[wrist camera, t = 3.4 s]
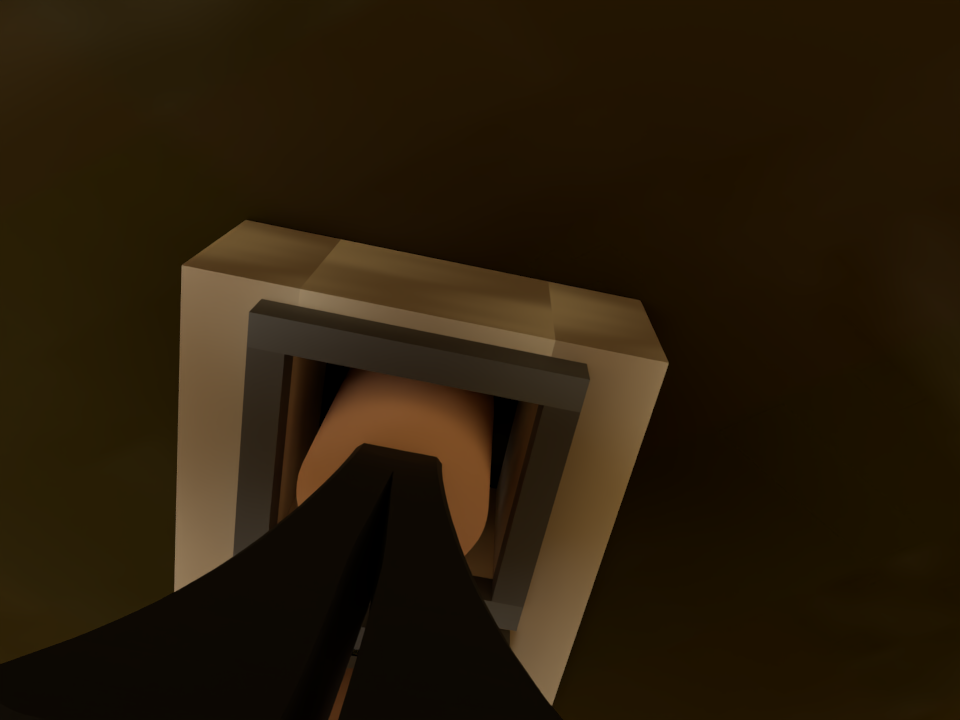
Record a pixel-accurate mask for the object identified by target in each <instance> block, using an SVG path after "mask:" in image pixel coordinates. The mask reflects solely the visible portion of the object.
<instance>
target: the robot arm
mask: <svg viewBox="0 0 960 720" xmlns="http://www.w3.org/2000/svg"><path fill="white" fill-rule="evenodd" d="M370 601H371V602H370ZM369 604H370V609H369V616H368V620H367V624H366V627H365V631H364V634H363V638H362V641H361V645H360V648H359V652H358V655H357V658H356V662H355V665H354V669H353V672H352V675H351V679H350V682H349V686H348V689H347V692H346V695H345V699H344V702H343V705H342V708H341V712H340V715H339V718H338V720H562V718H561V717H560V716H559V715H558V713H557V712H556V711H555V710H554V708H553V707H552V706H551V705H550V703H549V702H548V701H547V700H546V698H545V697H544V695H543V694H542V693H541V691H540V690H539V688H538V687H537V685H536V684H535V682H534V681H533V680H532V678H531V677H530V675H529V674H528V672H527V671H526V670H525V668H524V667H523V665H522V664H521V662H520V661H519V659H518V658H517V657H516V655H515V654H514V652H513V651H512V649H511V647H510V646H509V644H508V642H507V641H506V639H505V637H504V636H503V634H502V632H501V631H500V629H499V627H498V625H497V624H496V622H495V620H494V618H493V616H492V614H491V612H490V611H489V609H488V607H487V605H486V603H485V601H484V599H483V597H482V595H481V593H480V591H479V589H478V586H477V584H476V582H475V580H474V578H473V575H472V573H471V570H470V568H469V566H468V563H467V561H466V558H465V556H464V553H463V550H462V548H461V545H460V542H459V539H458V536H457V533H456V530H455V527H454V524H453V521H452V517H451V514H450V510H449V506H448V502H447V498H446V494H445V489H444V483H443V475H442V463H441V462H440V460H439V459H438V458H437V457H435V456H430V455H424V454H419V453H414V452H409V451H403V450H398V449H393V448H388V447H383V446H377V445H372V444H367V443H363V444H361V445H360V446H358V447H356V449H355V450H354V451H353V452H352V454H351V455H350V456H349V457H348V458H347V459H346V460H345V462H344V463H343V464H342V465H341V466H340V467H339V468H338V469H337V470H336V471H335V472H334V473H333V474H332V475H331V476H330V477H329V478H328V479H327V480H326V481H325V482H324V483H323V484H322V485H321V486H320V487H319V488H318V489H317V490H316V491H315V492H314V493H313V494H311V495H310V496H309V497H308V498H307V499H306V500H305V501H304V502H303V503H302V504H301V505H300V506H298V507H297V508H296V509H295V510H294V511H293V512H291V513H290V514H289V515H288V516H286V517H285V518H284V519H283V520H281V521H280V522H279V523H278V524H276V525H275V526H274V527H273V528H271V529H270V530H269V531H268V532H266V533H265V534H264V535H263V536H261V537H260V538H259V539H257V540H256V541H255V542H253V543H252V544H250V545H249V546H248V547H246V548H245V549H243V550H242V551H241V552H239V553H238V554H236V555H235V556H233V557H232V558H230V559H229V560H227V561H226V562H224V563H223V564H221V565H219V566H218V567H216V568H215V569H213V570H212V571H210V572H208V573H206V574H205V575H203V576H201V577H200V578H198V579H196V580H194V581H193V582H191V583H189V584H188V585H186V586H184V587H182V588H181V589H179V590H177V591H175V592H174V593H172V594H170V595H168V596H166V597H164V598H162V599H161V600H159V601H157V602H155V603H153V604H151V605H149V606H146V607H144V608H142V609H140V610H138V611H136V612H134V613H131V614H129V615H127V616H125V617H123V618H120V619H118V620H116V621H114V622H111V623H109V624H107V625H104V626H102V627H100V628H97V629H95V630H93V631H90V632H88V633H85V634H83V635H80V636H78V637H75V638H73V639H70V640H67V641H64V642H61V643H59V644H56V645H53V646H50V647H48V648H45V649H42V650H39V651H36V652H34V653H31V654H28V655H25V656H22V657H20V658H17V659H14V660H11V661H8V662H5V663H2V664H0V720H328V719H329V717H330V714H331V711H332V708H333V705H334V703H335V700H336V697H337V694H338V691H339V689H340V686H341V683H342V680H343V677H344V675H345V672H346V669H347V666H348V663H349V661H350V658H351V655H352V652H353V649H354V647H355V644H356V641H357V638H358V635H359V632H360V630H361V627H362V624H363V621H364V618H365V615H366V613H367V610H368V607H369Z"/></svg>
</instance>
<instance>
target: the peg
mask: <svg viewBox="0 0 960 720" xmlns="http://www.w3.org/2000/svg"><path fill="white" fill-rule="evenodd" d="M493 422H494V397H493V395H489V394H484V393H479V392H474V391H468V390H463V389H458V388H453V387H448V386H443V385H438V384H433V383H428V382H423V381H418V380H413V379H408V378H402V377H397V376H392V375H387V374H382V373H377V372H372V371H367V370H362V369H357V368H352V367H350V369H349V370H348V372H347V374H346V376H345V378H344V380H343V382H342V384H341V386H340V388H339V390H338V392H337V394H336V396H335V398H334V400H333V403H332V405H331V407H330V409H329V411H328V413H327V415H326V417H325V419H324V421H323V423H322V425H321V427H320V429H319V431H318V433H317V435H316V437H315V439H314V441H313V443H312V445H311V447H310V449H309V451H308V453H307V455H306V457H305V459H304V461H303V463H302V466H301V469H300V471H299V474H298V480H297V489H296V496H297V503H298V506H300V505H301V504H302V503H303V502H304V501H305V500H306V499H307V498H308V497H309V496H310V495H311V494H313V493H314V492H315V491H316V490H317V489H318V488H319V487H320V486H321V485H322V484H323V483H324V482H325V481H326V480H327V479H328V478H329V477H330V476H331V475H332V474H333V473H334V472H335V471H336V470H337V469H338V468H339V467H340V466H341V465H342V464H343V463H344V462H345V460H346V459H347V458H348V457H349V456H350V455H351V454H352V452H353V451H354V450H355V449H356V447H358V446H360V445H361V444H363V443H367V444H372V445H377V446H383V447H388V448H393V449H398V450H403V451H409V452H414V453H419V454H424V455H430V456H435V457H437V458H438V459H439V460H440V462H441V463H442V475H443V483H444V489H445V494H446V498H447V502H448V506H449V510H450V514H451V517H452V521H453V524H454V527H455V530H456V533H457V536H458V539H459V542H460V545H461V548H462V550H463V553H464V556H465V555H466V554H467V553H468V552H469V551H470V550H471V549H472V548H473V546H474V545H475V544H476V542H477V541H478V539H479V538H480V536H481V534H482V532H483V530H484V527H485V524H486V521H487V515H488V507H489V490H490V473H491V456H492V439H493Z"/></svg>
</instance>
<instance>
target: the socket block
mask: <svg viewBox="0 0 960 720" xmlns="http://www.w3.org/2000/svg"><path fill="white" fill-rule="evenodd" d="M326 363H331V364H337V365H342V366H347V367H352V368H357V369H362V370H367V371H372V372H377V373H382V374H387V375H392V376H397V377H402V378H408V379H413V380H418V381H423V382H428V383H433V384H438V385H443V386H448V387H453V388H458V389H463V390H468V391H474V392H479V393H484V394H489V395H494V396H499V397H504V398H509V399H514V400H519V401H518V405H517V409H516V413H515V417H514V421H513V425H512V429H511V433H510V437H509V441H508V445H507V449H506V453H505V457H504V461H503V465H502V469H501V473H500V477H499V481H498V485H497V489H495V488H490V490H489V507H488V515H487V521H486V524H485V527H484V530H483V532H482V534H481V536H480V538H479V539H478V541H477V542H476V544H475V545H474V546H473V548H472V549H471V550H470V551H469V552H468V553H467V554H466V555H465V558H466V561H467V563H468V566H469V568H470V570H471V573H472V575H473V578H474V580H475V582H476V584H477V586H478V589H479V591H480V593H481V595H482V597H483V599H484V601H485V603H486V605H487V607H488V609H489V611H490V612H491V614H492V616H493V618H494V620H495V622H496V624H497V625H498V627H499V629H500V631H501V632H502V634H503V636H504V637H505V639H506V641H507V642H508V644H509V646H510V647H511V649H512V651H513V652H514V654H515V655H516V657H517V658H518V659H519V661H520V662H521V664H522V665H523V667H524V668H525V670H526V671H527V672H528V674H529V675H530V677H531V678H532V680H533V681H534V682H535V684H536V685H537V687H538V688H539V690H540V691H541V693H542V694H543V695H544V697H545V698H546V700H547V701H548V702H549V703H550V705H551V706H552V704H553V701H554V698H555V695H556V692H557V689H558V686H559V683H560V680H561V677H562V675H563V672H564V669H565V666H566V663H567V660H568V657H569V654H570V651H571V648H572V645H573V642H574V639H575V636H576V634H577V631H578V628H579V625H580V622H581V619H582V616H583V613H584V610H585V607H586V604H587V601H588V598H589V595H590V593H591V590H592V587H593V584H594V581H595V578H596V575H597V572H598V569H599V566H600V563H601V560H602V557H603V554H604V552H605V549H606V546H607V543H608V540H609V537H610V534H611V531H612V528H613V525H614V522H615V519H616V516H617V513H618V511H619V508H620V505H621V502H622V499H623V496H624V493H625V490H626V487H627V484H628V481H629V478H630V475H631V472H632V470H633V467H634V464H635V461H636V458H637V455H638V452H639V449H640V446H641V443H642V440H643V437H644V434H645V431H646V429H647V426H648V423H649V420H650V417H651V414H652V411H653V408H654V405H655V402H656V399H657V396H658V393H659V390H660V388H661V385H662V382H663V379H664V376H665V373H666V370H667V367H668V364H669V362H668V360H667V358H666V356H665V353H664V351H663V349H662V347H661V345H660V342H659V340H658V338H657V336H656V334H655V331H654V329H653V327H652V325H651V323H650V320H649V318H648V316H647V314H646V312H645V309H644V307H643V305H642V303H641V301H640V300H636V299H631V298H626V297H621V296H616V295H611V294H607V293H602V292H597V291H592V290H587V289H582V288H577V287H572V286H567V285H562V284H558V283H553V282H548V281H543V280H538V279H533V278H528V277H523V276H518V275H513V274H509V273H504V272H499V271H494V270H489V269H484V268H479V267H474V266H469V265H464V264H460V263H455V262H450V261H445V260H440V259H435V258H430V257H425V256H420V255H415V254H411V253H406V252H401V251H396V250H391V249H386V248H381V247H376V246H371V245H366V244H362V243H357V242H352V241H347V240H342V239H337V238H332V237H327V236H322V235H318V234H313V233H308V232H303V231H298V230H293V229H288V228H283V227H278V226H273V225H269V224H264V223H259V222H254V221H249V220H245V221H244V222H242V223H241V224H239V225H238V226H237V227H235V228H234V229H232V230H231V231H229V232H228V233H227V234H225V235H224V236H222V237H221V238H220V239H218V240H217V241H215V242H214V243H212V244H211V245H210V246H208V247H207V248H205V249H204V250H203V251H201V252H200V253H198V254H197V255H195V256H194V257H193V258H191V259H190V260H188V261H187V262H186V263H184V264H183V265H182V278H181V322H180V366H179V410H178V454H177V499H176V543H175V587H174V592H175V591H177V590H179V589H181V588H182V587H184V586H186V585H188V584H189V583H191V582H193V581H194V580H196V579H198V578H200V577H201V576H203V575H205V574H206V573H208V572H210V571H212V570H213V569H215V568H216V567H218V566H219V565H221V564H223V563H224V562H226V561H227V560H229V559H230V558H232V557H233V556H235V555H236V554H238V553H239V552H241V551H242V550H243V549H245V548H246V547H248V546H249V545H250V544H252V543H253V542H255V541H256V540H257V539H259V538H260V537H261V536H263V535H264V534H265V533H266V532H268V531H269V530H270V529H271V528H273V527H274V526H275V525H276V524H278V523H279V522H280V521H281V520H283V519H284V518H285V517H286V516H288V515H289V514H290V513H291V512H293V511H294V510H295V509H296V508H297V507H298V503H297V496H296V489H297V480H298V474H299V471H300V469H301V466H302V463H303V461H304V459H305V457H306V455H307V453H308V451H309V449H310V447H311V445H312V443H313V441H314V439H315V437H316V435H317V433H318V431H319V422H320V414H321V406H322V397H323V389H324V380H325V372H326ZM370 602H371V601H370ZM369 609H370V604H369V607H368V610H367V613H366V615H365V618H364V621H363V624H362V627H361V630H360V632H359V635H358V638H357V641H356V644H355V647H354V649H356V650H359V648H360V645H361V641H362V638H363V634H364V631H365V627H366V624H367V620H368V616H369ZM356 658H357V656H352V655H351V658H350V661H349V663H348V666H347V668H354V665H355V662H356Z"/></svg>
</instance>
